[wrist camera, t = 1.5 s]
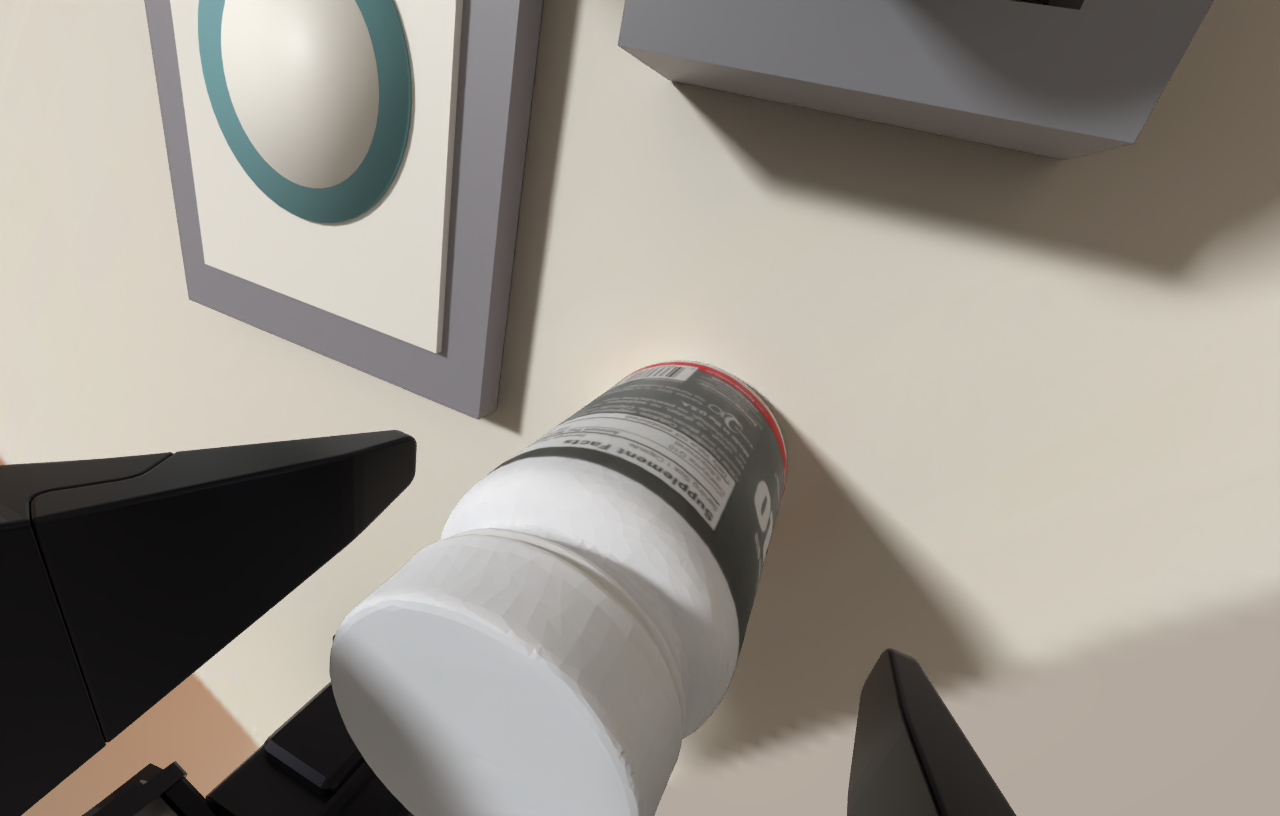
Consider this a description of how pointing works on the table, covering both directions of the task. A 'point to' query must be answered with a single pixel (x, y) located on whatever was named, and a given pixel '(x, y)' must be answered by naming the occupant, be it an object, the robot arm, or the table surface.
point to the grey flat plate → (354, 175)
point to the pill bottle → (572, 608)
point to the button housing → (933, 61)
